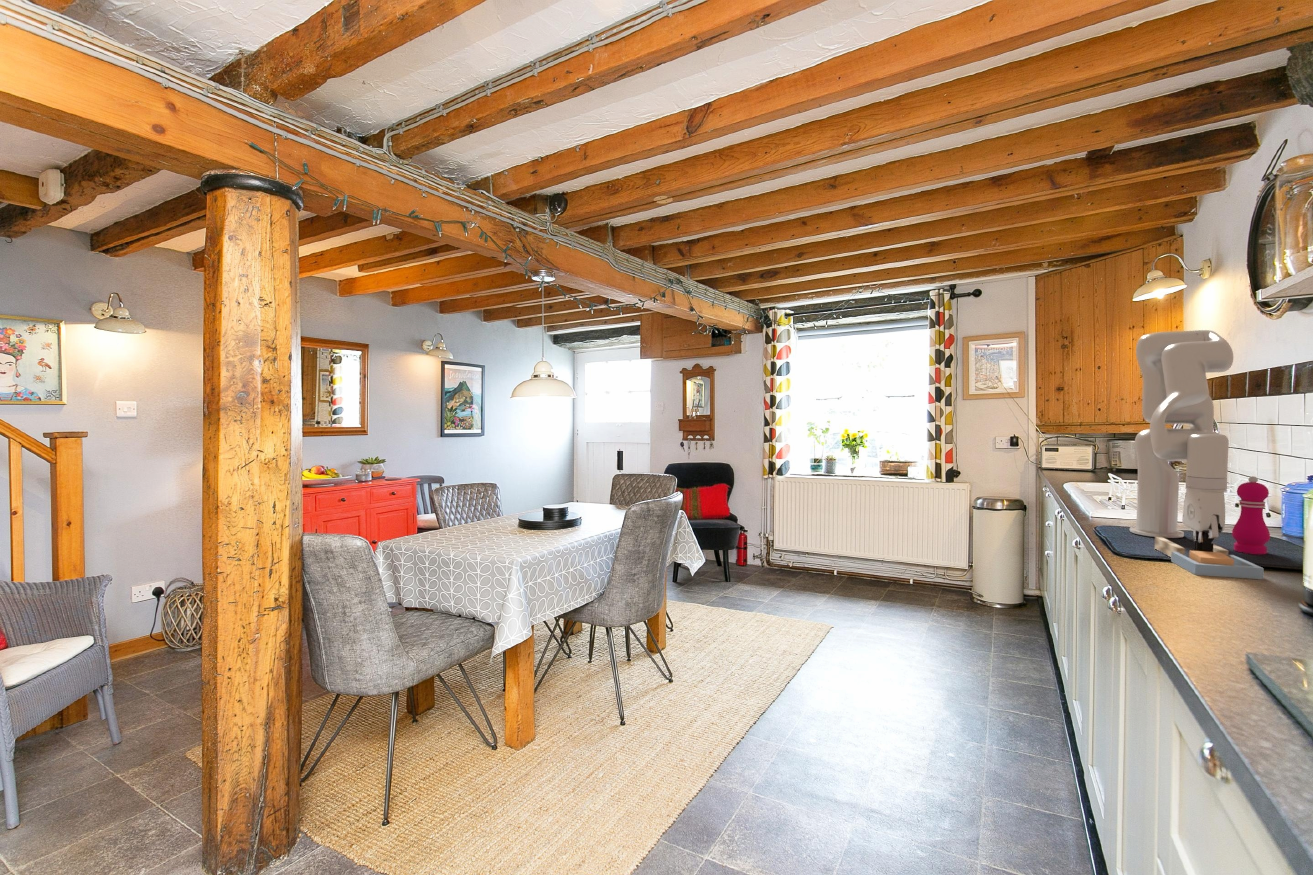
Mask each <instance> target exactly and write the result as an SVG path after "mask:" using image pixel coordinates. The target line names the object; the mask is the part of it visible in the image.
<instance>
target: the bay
mask: <svg viewBox="0 0 1313 875" xmlns="http://www.w3.org/2000/svg"><path fill="white" fill-rule="evenodd" d="M1228 557H1230V558H1232V559H1234V565H1219V564H1203V563H1198V562H1196V561H1194V560H1192V559H1190V558H1189V557H1188V556H1186V555H1185V556H1184V555H1182V554H1180V553H1178V552H1172V554H1171V558H1170V559H1171V560H1170V562H1172V563H1173V564H1174V565H1177V566H1179V567H1180V568H1183V569H1184V570H1186V571H1188V573H1191V574H1193V575H1195V576H1205V577H1207V576H1208V577H1223V578H1237V579H1239V578H1241V579H1250V580H1251V579H1255V580H1264V576H1265V575H1264V574H1265V573H1264V571H1265V570H1264V569H1265V568H1263V567H1261V566H1259V565H1257V564H1255V563H1253V562H1250V561H1248V560H1246V559H1244V558H1242V557H1239V556H1236V555H1234V554H1228Z"/></svg>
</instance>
